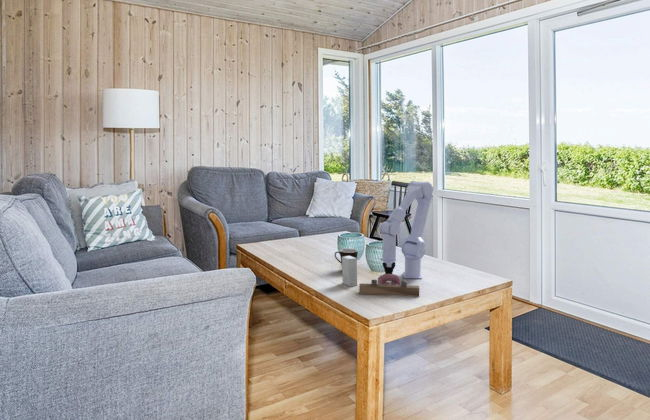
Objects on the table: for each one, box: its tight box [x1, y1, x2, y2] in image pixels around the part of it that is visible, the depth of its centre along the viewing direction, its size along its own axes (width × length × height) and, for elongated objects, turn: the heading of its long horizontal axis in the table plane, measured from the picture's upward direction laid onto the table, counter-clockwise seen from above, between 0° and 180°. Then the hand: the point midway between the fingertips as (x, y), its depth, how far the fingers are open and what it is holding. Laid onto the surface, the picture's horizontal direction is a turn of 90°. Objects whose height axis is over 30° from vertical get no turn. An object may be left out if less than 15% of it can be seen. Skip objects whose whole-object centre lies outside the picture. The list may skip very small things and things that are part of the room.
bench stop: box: [358, 279, 420, 297], centre depth 184 cm, size 3×24×6 cm, turn 82°
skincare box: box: [341, 256, 358, 287], centre depth 197 cm, size 6×4×12 cm
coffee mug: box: [334, 248, 359, 265], centre depth 221 cm, size 12×9×10 cm
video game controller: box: [377, 273, 402, 285], centre depth 193 cm, size 10×5×7 cm, turn 92°
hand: (388, 278), depth 201 cm, fingers closed
